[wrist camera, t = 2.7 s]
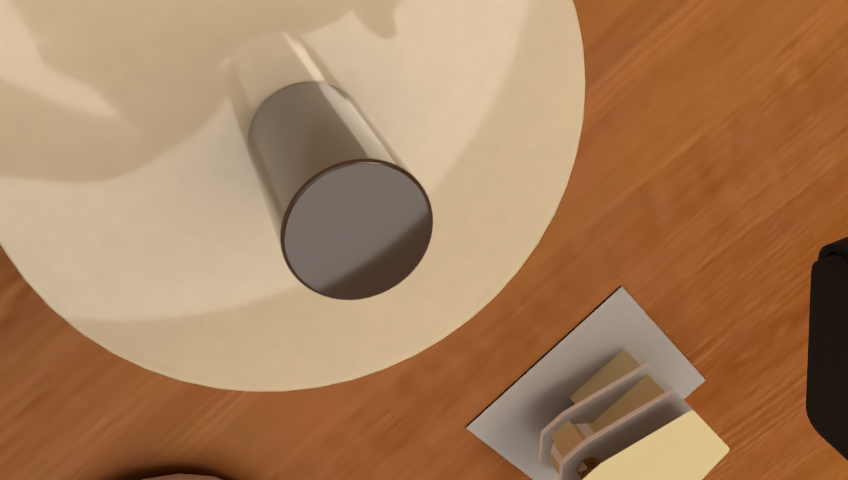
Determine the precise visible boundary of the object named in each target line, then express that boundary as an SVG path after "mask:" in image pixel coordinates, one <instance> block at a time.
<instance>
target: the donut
mask: <svg viewBox="0 0 848 480" xmlns="http://www.w3.org/2000/svg"><path fill="white" fill-rule="evenodd" d="M142 480H222V479H219V478H217V477H214V476H203V475H191V474H173V475H167V476H160V477H154V478H147V479H142Z"/></svg>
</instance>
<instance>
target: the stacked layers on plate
mask: <svg viewBox="0 0 848 480" xmlns="http://www.w3.org/2000/svg"><path fill="white" fill-rule="evenodd" d="M704 381H705V379H704V378H703V377H702V376H701V374H700V373H699V372H698V371H697V370H696V369H695V368H694V367H693V366H692V364H691V363H690V362H689V361H688V360H687V359H686V358H685V357H684V355H683V354H682V353H681V352H680V351H679V350H678V349H677V348H676V347H675V345H674V344H673V343H672V342H671V341H670V340H669V339H668V338H667V336H666V335H665V334H664V333H663V332H662V331H661V330H660V329H659V328H658V326H657V325H656V324H655V323H654V322H653V321H652V320H651V319H650V317H649V316H648V315H647V314H646V313H645V312H644V311H643V310H642V308H641V307H640V306H639V305H638V304H637V303H636V302H635V301H634V300H633V298H632V297H631V296H630V295H629V294H628V293H627V292H626V291H625V289H624V288H623V287H621V288H620V289H618V290H617V291H616V292H615V293H614V294H613V295H612V296H611V297H610V298H608V299H607V300H606V301H605V302H604V303H603V304H602V305H601V306H600V307H599V308H597V309H596V310H595V311H594V312H593V313H592V314H591V315H590V316H589V317H588V318H586V319H585V320H584V321H583V322H582V323H581V324H580V325H579V326H578V327H577V328H575V329H574V330H573V331H572V332H571V333H570V334H569V335H568V336H567V337H566V338H564V339H563V340H562V341H561V342H560V343H559V344H558V345H557V346H556V347H555V348H553V349H552V350H551V351H550V352H549V353H548V354H547V355H546V356H545V357H544V358H542V359H541V360H540V361H539V362H538V363H537V364H536V365H535V366H534V367H533V368H531V369H530V370H529V371H528V372H527V373H526V374H525V375H524V376H523V377H521V378H520V379H519V380H518V381H517V382H516V383H515V384H514V385H513V386H512V387H510V388H509V389H508V390H507V391H506V392H505V393H504V394H503V395H502V396H501V397H499V398H498V399H497V400H496V401H495V402H494V403H493V404H492V405H491V406H490V407H488V408H487V409H486V410H485V411H484V412H483V413H482V414H481V415H480V416H479V417H477V418H476V419H475V420H474V421H473V422H472V423H471V424H470V425H469V426H468V427H466V428H467V429H468V430H469V431H470V432H472V433H473V434H474V435H476V436H477V437H478V438H480V439H481V440H482V441H483V442H485V443H486V444H487V445H489V446H490V447H491V448H492V449H494V450H495V451H496V452H498V453H499V454H500V455H502V456H503V457H504V458H505V459H507V460H508V461H509V462H511V463H512V464H513V465H514V466H516V467H517V468H518V469H520V470H521V471H522V472H524V473H525V474H526V475H527V476H529V477H530V478H531V479H533V480H702V479H703V478H704V477H705V475H706V474H707V473H708V472H709V471H710V470H711V469H712V468H713V467H714V466H715V465H716V464H717V463H718V462H719V461H720V460H721V459H722V458H723V457H724V456H725V455H726V454H727V453H728V451H729V447H728V446H727V445H726V444H725V443H724V442H723V441H722V440H721V439H720V438H719V437H718V436H717V435H716V434H715V433H714V431H713V430H712V429H711V428H710V427H709V426H708V425H707V424H706V423H705V422H704V421H703V420H702V419H701V418H700V417H699V416H698V414H697V413H696V412H695V411H694V410H693V409H692V408H691V407H690V406H689V405H688V404H687V403H686V402H685V401H684V399H685V398H686V397H687V396H688V395H689V394H690V393H692V392H693V391H694V390H695V389H696V388H697V387H698V386H699V385H701V384H702V383H703V382H704Z"/></svg>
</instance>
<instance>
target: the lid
mask: <svg viewBox="0 0 848 480" xmlns="http://www.w3.org/2000/svg"><path fill="white" fill-rule="evenodd" d="M584 98H585V68H584V52H583V44H582V39H581V33H580V28H579V23H578V18H577V12H576V9H575V6H574V3H573V0H0V245H1V247H2V248H3V250H4V251H5V252H6V254H7V255H8V257H9V258H10V260H11V261H12V263H13V264H14V265H15V267H16V268H17V270H18V271H19V273H20V274H21V276H22V277H23V278H24V280H25V281H26V282H27V283H28V284H29V285H30V286H31V287H32V288H33V289H34V290H35V292H36V293H37V294H38V295H39V296H40V297H41V298H42V299H43V300H44V301H45V302H46V304H47V305H48V306H49V307H50V308H51V309H52V310H54V311H55V312H56V313H57V314H58V315H60V316H61V317H62V318H63V319H64V320H66V321H67V322H68V323H69V324H70V325H72V326H73V327H74V328H75V329H76V330H78V331H79V332H80V333H81V334H83V335H85V336H86V337H88V338H89V339H91V340H92V341H94V342H96V343H97V344H99V345H100V346H102V347H103V348H105V349H106V350H108V351H110V352H111V353H113V354H115V355H117V356H119V357H121V358H124V359H126V360H128V361H130V362H132V363H134V364H136V365H138V366H140V367H142V368H144V369H147V370H150V371H153V372H156V373H159V374H162V375H165V376H168V377H171V378H174V379H177V380H180V381H184V382H189V383H193V384H198V385H203V386H207V387H212V388H219V389H229V390H239V391H249V392H263V391H292V390H300V389H309V388H318V387H323V386H327V385H332V384H336V383H341V382H345V381H350V380H353V379H356V378H359V377H362V376H365V375H368V374H371V373H374V372H377V371H380V370H383V369H386V368H388V367H390V366H392V365H395V364H397V363H399V362H401V361H403V360H406V359H408V358H410V357H412V356H415V355H416V354H418V353H420V352H421V351H423V350H425V349H427V348H428V347H430V346H432V345H433V344H435V343H437V342H439V341H440V340H442V339H444V338H445V337H446V336H448V335H449V334H451V333H452V332H453V331H455V330H456V329H457V328H459V327H460V326H462V325H463V324H464V323H466V322H467V321H468V320H470V319H471V318H472V317H473V316H474V315H475V314H477V313H478V312H479V311H480V310H481V309H482V308H483V307H484V306H485V305H487V304H488V303H489V302H490V301H491V300H492V299H493V298H494V297H495V296H496V295H497V294H498V293H499V292H500V291H501V290H502V289H503V287H504V286H505V285H506V284H507V283H508V282H509V281H510V280H511V279H512V278H513V276H514V275H515V274H516V273H517V272H518V271H519V269H520V268H521V266H522V265H523V264H524V262H525V261H526V260H527V258H528V257H529V255H530V254H531V253H532V251H533V250H534V249H535V247H536V246H537V244H538V242H539V241H540V239H541V237H542V235H543V234H544V232H545V230H546V228H547V227H548V225H549V223H550V221H551V220H552V218H553V216H554V214H555V212H556V209H557V207H558V205H559V203H560V200H561V198H562V196H563V193H564V191H565V189H566V186H567V184H568V180H569V177H570V174H571V171H572V167H573V164H574V161H575V158H576V154H577V150H578V145H579V139H580V134H581V128H582V123H583V115H584Z"/></svg>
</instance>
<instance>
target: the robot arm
mask: <svg viewBox="0 0 848 480" xmlns="http://www.w3.org/2000/svg"><path fill="white" fill-rule="evenodd" d="M806 411H807V415H808V418H809V420H810V422H811V424H812V425H813V427H814V428H815V430H816V431H817V432H818V433H819V434H820V435H821V436H822V437H823V438H824V439H825V440H826V441H827V442H828V443H829V444H830V445H831V446H833V447H834V448H835V449H836V450H837V451H838V452H839V453H840V454H841V455H842V456H843V457H844V458H846V459H847V460H848V237H846V238H843V239H841V240H838V241H836V242H833V243H831V244H828V245H826V246H824V247H823V248H822V249H821V251H820V252H819V257H818V261H816V262H815V263H814V264H813V266H812V270H811V292H810V317H809V343H808V368H807V394H806Z"/></svg>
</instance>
